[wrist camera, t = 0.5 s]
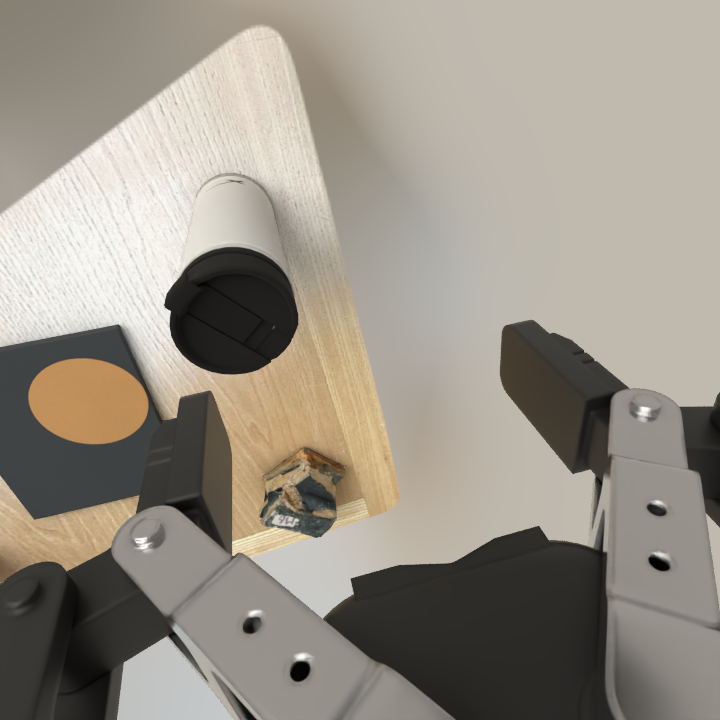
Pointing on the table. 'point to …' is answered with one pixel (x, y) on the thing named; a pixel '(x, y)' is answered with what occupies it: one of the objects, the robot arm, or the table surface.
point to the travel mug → (232, 281)
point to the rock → (302, 494)
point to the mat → (73, 421)
